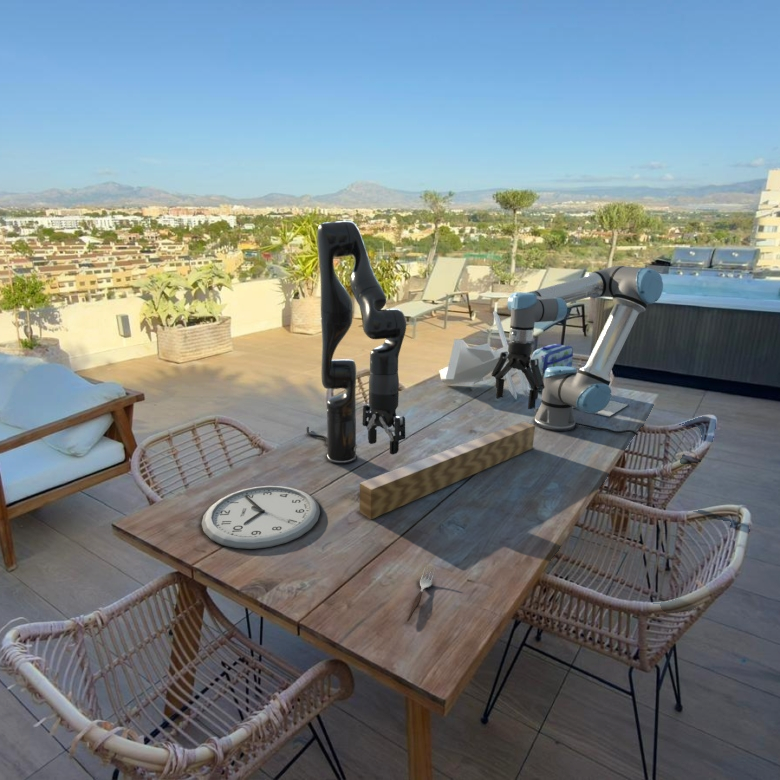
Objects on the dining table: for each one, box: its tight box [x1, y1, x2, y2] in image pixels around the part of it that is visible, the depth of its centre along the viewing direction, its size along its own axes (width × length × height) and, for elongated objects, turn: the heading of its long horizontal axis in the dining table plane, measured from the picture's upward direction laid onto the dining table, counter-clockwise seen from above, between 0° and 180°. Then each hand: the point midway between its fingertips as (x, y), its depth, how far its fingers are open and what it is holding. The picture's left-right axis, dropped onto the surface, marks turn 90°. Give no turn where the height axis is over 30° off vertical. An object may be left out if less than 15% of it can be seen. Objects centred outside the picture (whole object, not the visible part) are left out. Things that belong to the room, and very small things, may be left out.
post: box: [359, 421, 536, 520], centre depth 160 cm, size 73×5×9 cm, turn 131°
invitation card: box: [575, 400, 629, 418], centre depth 226 cm, size 21×1×15 cm
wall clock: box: [201, 485, 321, 550], centre depth 137 cm, size 30×2×30 cm
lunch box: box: [528, 343, 574, 392], centre depth 248 cm, size 26×11×21 cm, turn 134°
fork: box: [406, 565, 436, 622], centre depth 107 cm, size 3×16×2 cm, turn 160°
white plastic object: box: [438, 310, 530, 400], centre depth 245 cm, size 37×45×31 cm
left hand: (382, 448), depth 136 cm, fingers open, 8 cm apart
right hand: (514, 402), depth 176 cm, fingers open, 13 cm apart
